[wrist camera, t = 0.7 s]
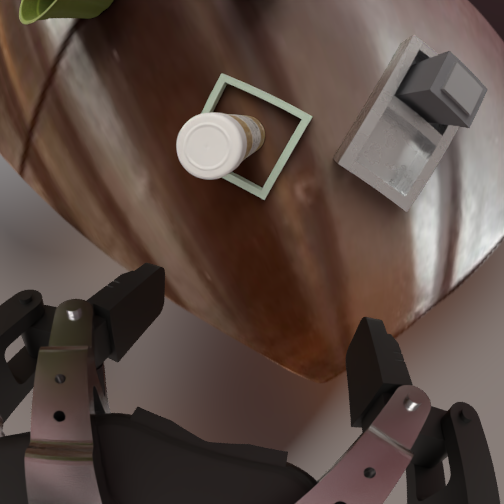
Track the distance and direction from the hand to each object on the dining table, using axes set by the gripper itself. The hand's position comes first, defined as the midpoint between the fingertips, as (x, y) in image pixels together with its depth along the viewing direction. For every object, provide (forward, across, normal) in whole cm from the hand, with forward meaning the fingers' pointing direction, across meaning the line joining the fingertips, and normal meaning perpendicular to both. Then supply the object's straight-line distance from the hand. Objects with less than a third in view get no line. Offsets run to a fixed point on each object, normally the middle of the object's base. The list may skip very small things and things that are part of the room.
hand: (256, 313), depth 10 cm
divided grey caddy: (+21, -10, -13) cm, 27 cm away
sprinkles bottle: (+21, +6, -7) cm, 23 cm away
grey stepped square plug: (+21, -12, -17) cm, 29 cm away
